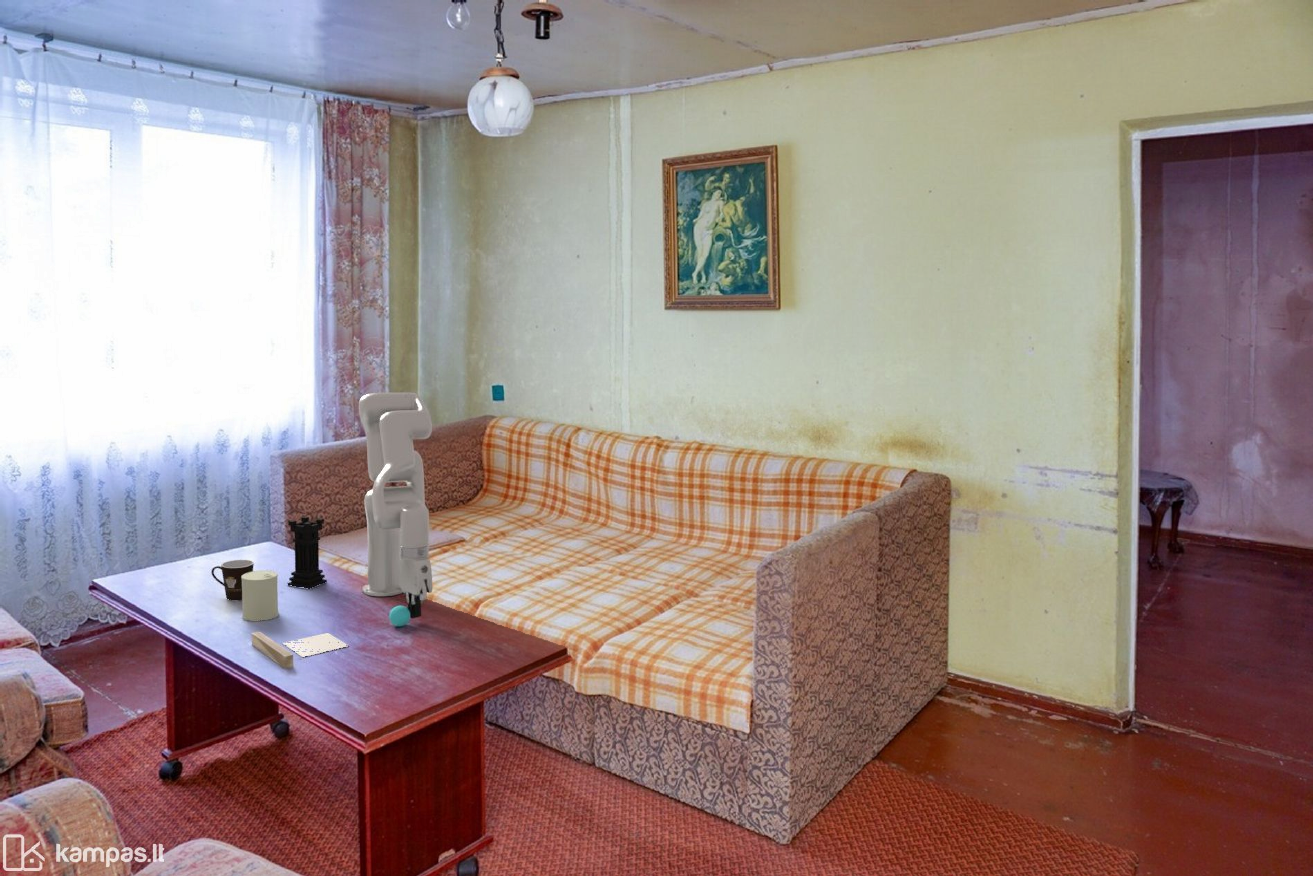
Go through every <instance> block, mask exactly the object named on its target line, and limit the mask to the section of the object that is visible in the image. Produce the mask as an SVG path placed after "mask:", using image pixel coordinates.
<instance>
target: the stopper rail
mask: <svg viewBox="0 0 1313 876" xmlns="http://www.w3.org/2000/svg"><path fill="white" fill-rule="evenodd" d="M251 646H253V647H254V648H256V650H258V649H259V650H258V651H260V652H261V653H262V654H264V655H265V656H267V657H268V658H270V660H272V661H274V662H275V663H276V664H278V665H279V666H280V665H281V667H282V668H283V669H286V670H287V669H289V668H294V654H293V653H291V652H290V651H289V650H287V649H286V648H284V647H283V646H282V645H280V644H279V643H277V642H276V641H274V640H272V638H270V637H268V636H266V635H265V634H264V633H263V632H261V631H255V632H251Z"/></svg>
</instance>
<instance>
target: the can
mask: <svg viewBox="0 0 1313 876" xmlns="http://www.w3.org/2000/svg"><path fill="white" fill-rule="evenodd" d="M241 578H242V600H241V601H242V603H241V604H242V616H241V618H242V619H243V620H245V621H247V620H251V621H250V622H263V621H262V620H266V621H268V620H269V619H270V620H272V618H273V619H275V618H277V617H278V616H279V605H278V604H279V602H278V601H279V600H278V596H279V595H278V593H279V592H278V573H277V572H276V571H274V570H273V571H272V570H255V571H254V570H253V572H249V573H245V574H243V575H242V576H241ZM260 620H261V621H260ZM270 620H269V621H270Z"/></svg>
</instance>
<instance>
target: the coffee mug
mask: <svg viewBox="0 0 1313 876" xmlns="http://www.w3.org/2000/svg"><path fill="white" fill-rule="evenodd" d="M254 564H255V562H254V561H253V560H250V559H232V560H228V561H224V562H222V563H220V566H219V565H217V566H214V567H213V568H212V569H211V575H212V577H213V579H214V580H215V581H216V582H218V584H220V585H222V586H223V587H224V592H225V597H226V598H227V599H229V600H228V601H232V600H238V601H242V578H241V576H242V575H243V574H245V573H249V572H253V571H254ZM216 569H219V570H221V572H222V573H221V574H222V578H223V581H222V580H220V579H218V578H217V576H216V575H215V573H214V572H215V570H216ZM226 598H225V599H226ZM227 599H226V600H227Z"/></svg>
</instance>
